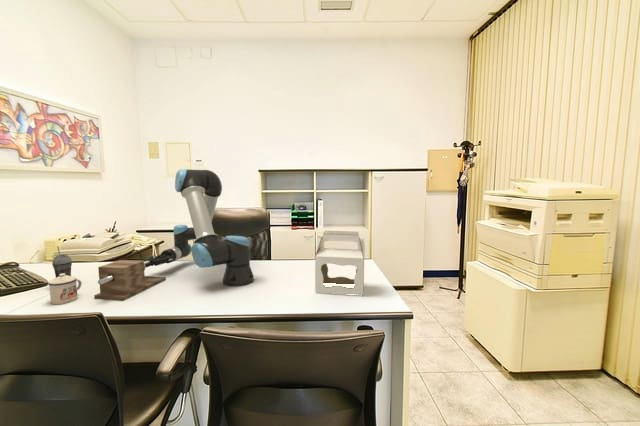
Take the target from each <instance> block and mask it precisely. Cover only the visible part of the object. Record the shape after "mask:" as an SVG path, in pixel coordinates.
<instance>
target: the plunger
mask: <svg viewBox="0 0 640 426" xmlns="http://www.w3.org/2000/svg"><path fill="white" fill-rule="evenodd" d="M145 270H146V268H145V265H144V272H145ZM113 279H114V275H111V276H108V277H106V278H103V279H100V280H99V279H98V281H97V284H99V285H100V284H103V283H106V282H108V281H111V280H113Z"/></svg>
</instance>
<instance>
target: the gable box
mask: <svg viewBox="0 0 640 426" xmlns="http://www.w3.org/2000/svg"><path fill="white" fill-rule="evenodd" d="M328 241H329V242H331V241H332V242H350V243H351V242H353V243H357V249H350V248H349V249H348V248H325V242H328ZM316 245H317V247H316V248H317V251H316V253H315V256H314V262H315V264H314V265H315V267H314V274H315V275H314V276H315V277H314V281H315V282H314V293H315V292H316V294H321V293H334V294H333V295H336V294H356V295H357V294H358V295H363V296H364V289H363V288H364V286H365V284H364V283H365V250H366V249H365V239H364V238H361V237H360V234H359V231H349V230H347V231H343V230H325V231H323V233H322V236H321V237H320V236H318V238H317V244H316ZM328 264H331V265H332V264H333V265H336V266H343V267H344V266H352V267H355V268H356V269H355V275H354V278H353V279H352V278H349V277H345V276H335V277H330V276H329V274H328V273H329V268H328ZM323 283H336V284H355V286H354V288H346V287H342V286H332V287H325V286H324V285H323Z"/></svg>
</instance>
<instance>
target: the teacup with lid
mask: <svg viewBox="0 0 640 426" xmlns="http://www.w3.org/2000/svg"><path fill="white" fill-rule="evenodd" d="M77 282H78V285H77ZM47 283H48V286H49V296H50V297H49V298H50V303H51V304H52V305H64V304H68V303H71V302H75V301H76V300H77V299H78V298H79V297H78V291H79V290H80V289H81V287H82V284H83V283H82V281H81V280H80V279H77V277H76V276H73V275H71V276H68V275H65V273H62V274H59V277H56V276H55V278H54V279H51V280H49V281H48V282H47Z"/></svg>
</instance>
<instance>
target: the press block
mask: <svg viewBox="0 0 640 426" xmlns="http://www.w3.org/2000/svg"><path fill="white" fill-rule="evenodd" d="M97 271H98V280H100V279H103V278H106V277H108V276H111V275H114V279H113V280H111V281H108V282H106V283H103V284H99V293H96V294H94V297H93V298H94V300H105V301H106V300H108V301H119V302H123V301H124V302H125V301H126V300H128V299H130V298H132V297H134V296H136V295H138V294H140V293H142V292H144V291H146V290H149V289H150V288H152V287H154V286H157V285H159V284H161V283H162V282H165V281H166V280H167V279H166V278H167V277H164V276H154V275H145V271H144V260H130V259H128V260H127V259H119V260H115V261H113V262H110V263H106V264H103V265H101V266H98V270H97Z"/></svg>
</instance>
